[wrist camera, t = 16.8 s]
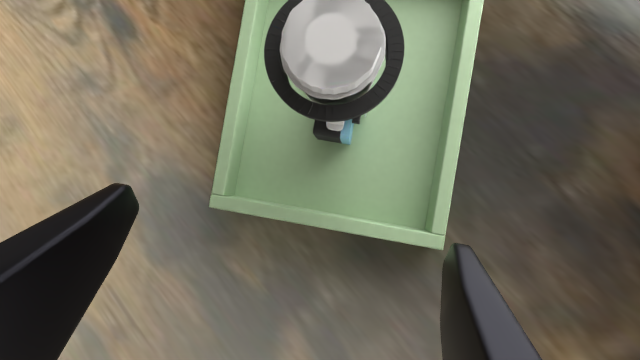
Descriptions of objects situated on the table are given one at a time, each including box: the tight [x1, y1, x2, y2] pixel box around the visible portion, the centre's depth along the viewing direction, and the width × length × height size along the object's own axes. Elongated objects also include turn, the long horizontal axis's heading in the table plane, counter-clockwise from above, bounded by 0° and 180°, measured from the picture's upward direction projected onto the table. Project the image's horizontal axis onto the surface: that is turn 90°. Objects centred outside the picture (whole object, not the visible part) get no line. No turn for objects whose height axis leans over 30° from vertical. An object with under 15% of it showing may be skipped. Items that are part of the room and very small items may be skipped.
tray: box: [209, 0, 484, 250], centre depth 22 cm, size 17×14×3 cm
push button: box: [264, 0, 405, 145], centre depth 18 cm, size 7×5×10 cm
